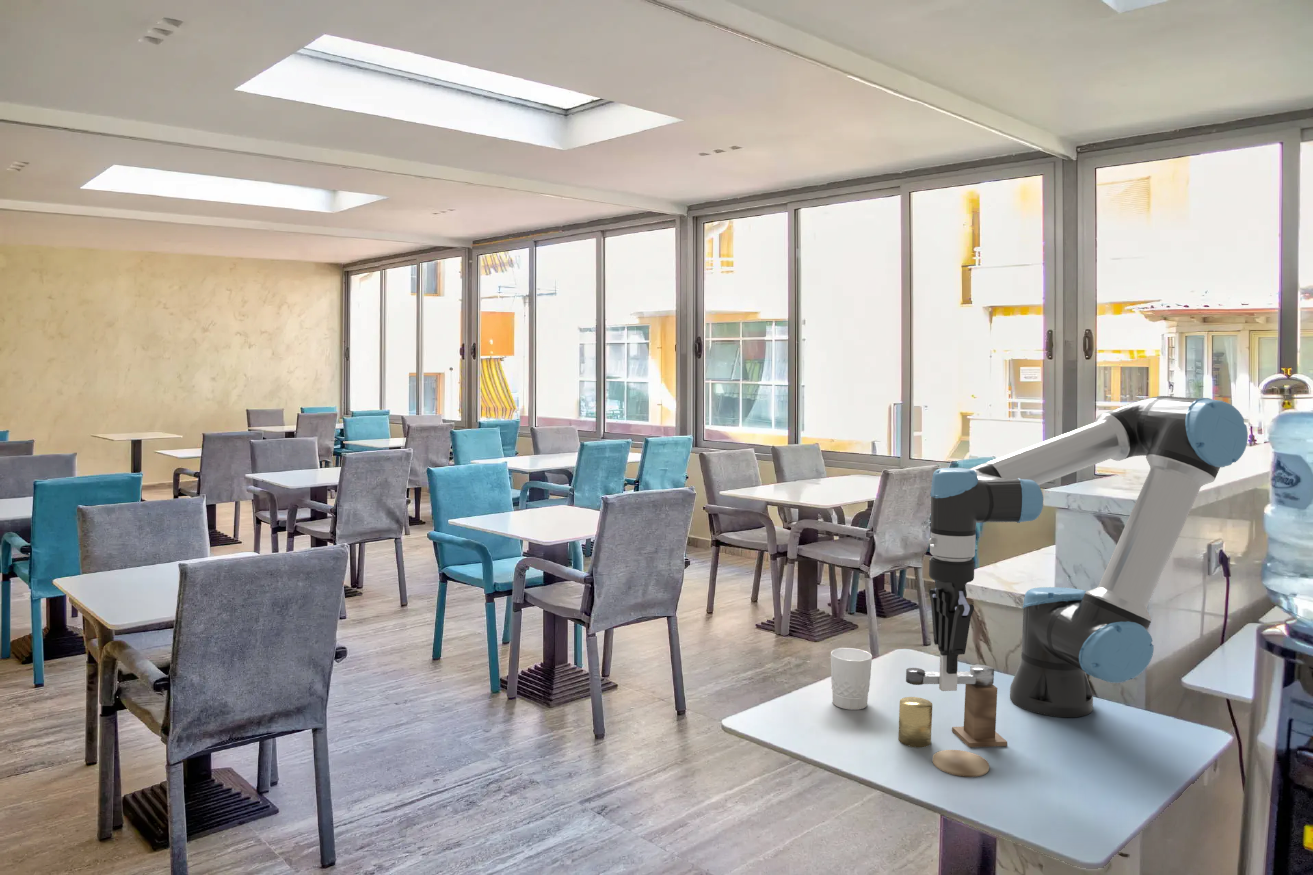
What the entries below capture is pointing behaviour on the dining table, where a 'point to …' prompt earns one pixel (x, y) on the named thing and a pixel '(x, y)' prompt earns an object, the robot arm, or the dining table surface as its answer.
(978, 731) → the post
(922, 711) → the brass cylinder
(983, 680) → the lever
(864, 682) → the white cup
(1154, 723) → the dining table surface
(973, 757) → the coaster
